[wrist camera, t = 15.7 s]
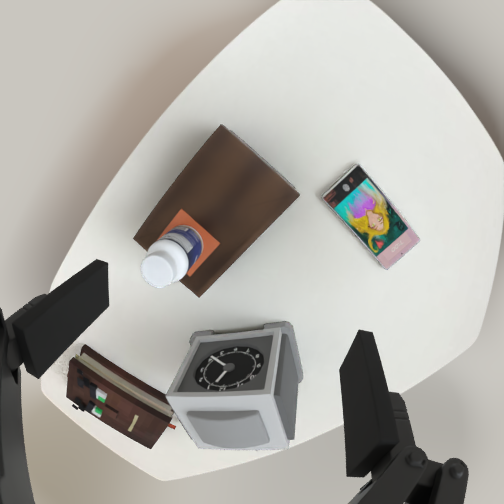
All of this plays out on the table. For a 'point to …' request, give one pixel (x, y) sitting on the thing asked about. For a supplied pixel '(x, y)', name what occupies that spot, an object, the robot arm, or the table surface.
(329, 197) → the smartphone
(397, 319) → the table surface
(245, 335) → the alarm clock
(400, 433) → the robot arm
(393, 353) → the table surface
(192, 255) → the pill bottle
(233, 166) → the wooden box
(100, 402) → the decorative book
